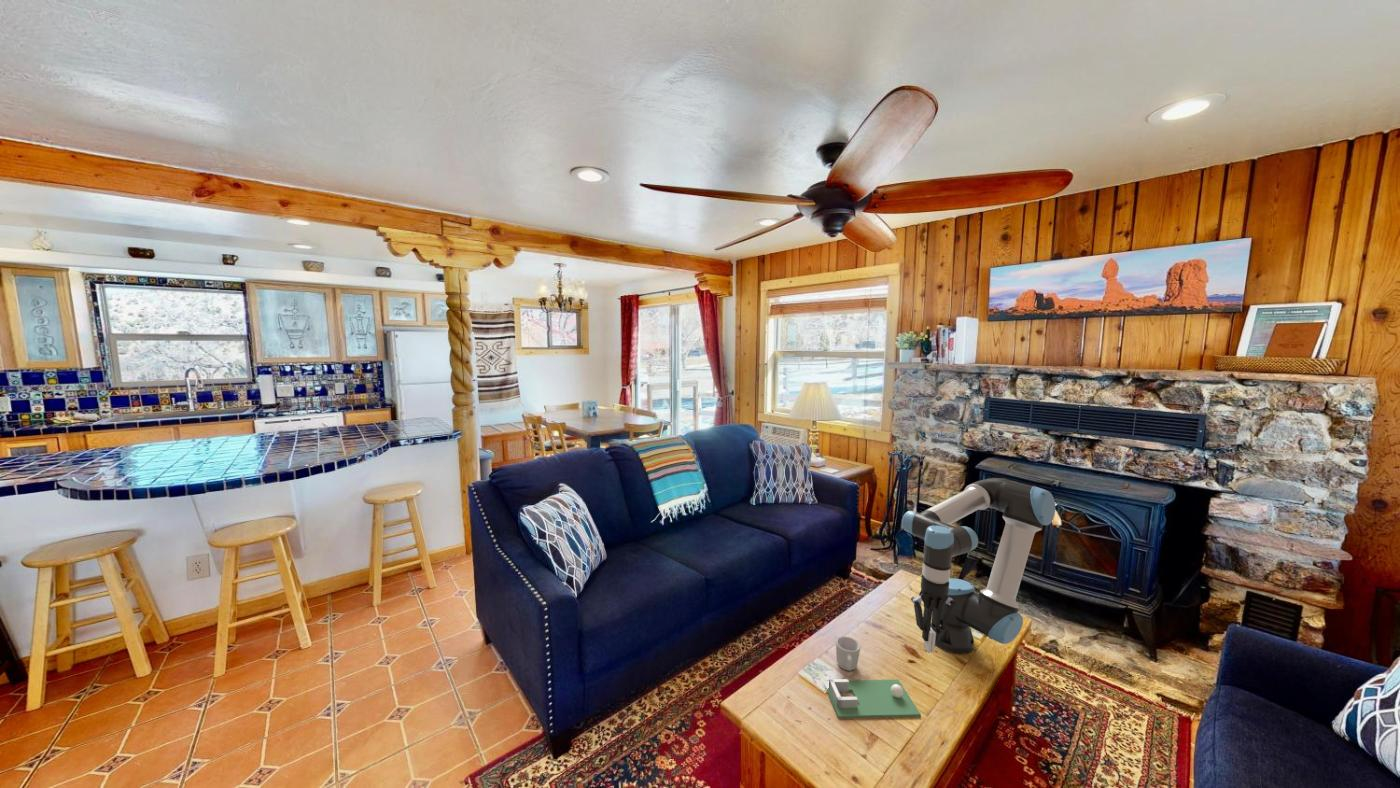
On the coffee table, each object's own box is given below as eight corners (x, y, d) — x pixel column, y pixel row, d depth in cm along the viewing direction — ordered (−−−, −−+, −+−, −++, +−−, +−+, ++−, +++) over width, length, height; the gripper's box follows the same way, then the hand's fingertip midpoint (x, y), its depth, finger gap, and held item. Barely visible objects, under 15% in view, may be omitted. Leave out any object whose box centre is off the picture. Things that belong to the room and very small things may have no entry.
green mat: (898, 681, 150) (898, 679, 150) (920, 716, 136) (920, 714, 136) (823, 682, 149) (823, 680, 149) (838, 718, 135) (838, 715, 135)
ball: (899, 691, 145) (900, 681, 144) (905, 700, 141) (905, 690, 141) (888, 691, 145) (889, 681, 144) (893, 700, 141) (894, 690, 141)
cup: (861, 681, 150) (863, 659, 149) (836, 677, 151) (837, 655, 150) (857, 659, 160) (858, 638, 159) (833, 655, 162) (835, 634, 161)
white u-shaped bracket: (846, 689, 146) (847, 679, 146) (857, 710, 138) (857, 699, 138) (828, 689, 146) (829, 679, 146) (837, 710, 138) (838, 700, 137)
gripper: (949, 571, 143) (942, 641, 146) (907, 571, 142) (901, 642, 145) (964, 584, 135) (957, 657, 138) (920, 584, 135) (913, 658, 137)
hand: (928, 649), depth 141 cm, fingers closed
